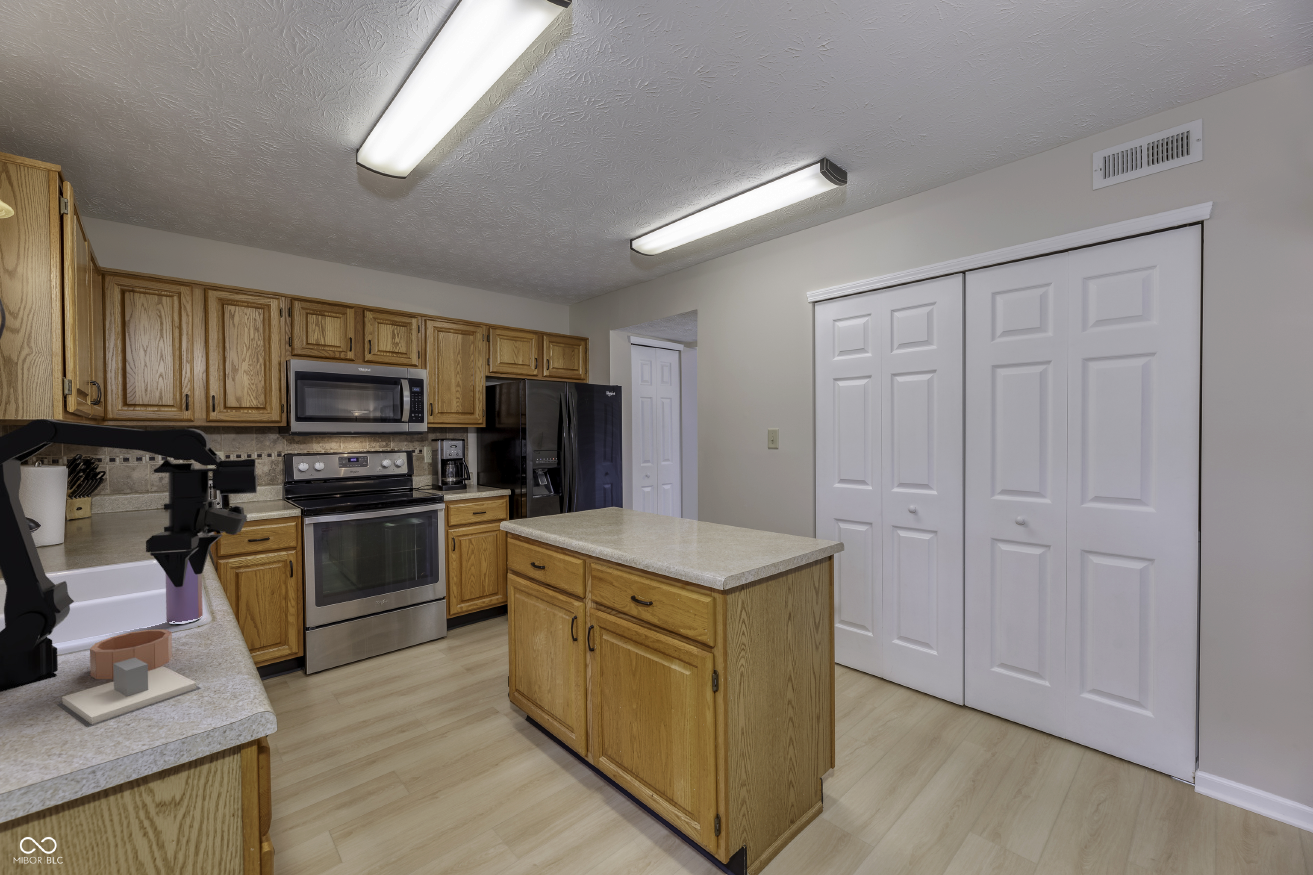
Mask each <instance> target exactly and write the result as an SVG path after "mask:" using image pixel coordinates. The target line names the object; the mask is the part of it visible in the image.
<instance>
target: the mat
mask: <svg viewBox="0 0 1313 875" xmlns="http://www.w3.org/2000/svg"><path fill="white" fill-rule="evenodd" d="M201 689H202V687H200V686H199V685H196V689H194V690H191V691H188V692H185V693H182V694H179V695H177V696H174V697H171V698H168V699H165V700H162V701H159V702H156V703H153V704H150V705H147V706H144V707H141V708H138V709H136V710H133V711H130V712H127V713H124V714H121V715H118V716H115V717H112V718H109V719H106V720H103V721H100V722H98V723H95V724H91V723H89V722H88V721H86V720H85V719H84V718H82V717H81V716H79V715H78V714H77V713H75V712H74V711H73V710H71V709H70V708H68V707H67V706H66V705H64V704H63V701H62V702H59V703H56V705H57V706H58V707H60V708H61V709H62V710H64V711H65V712H66V713H68V714H69V715H70V716H72V717H73V718H74V719H76V720H77V721H79V722H80V723H81V724H83V725H84V726H86V727H87V728H90V727H94V726H97V725H99V724H102V723H106V722H108V721H111V720H114V719H117V718H120V717H122V716H126V715H129V714H131V713H134V712H138V711H140V710H143V709H146V708H150V707H152V706H154V705H158V704H160V703H163V702H166V701H169V700H172V699H175V698H178V697H181V696H183V695H186V694H189V693H193V692H195V691H199V690H201Z"/></svg>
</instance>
